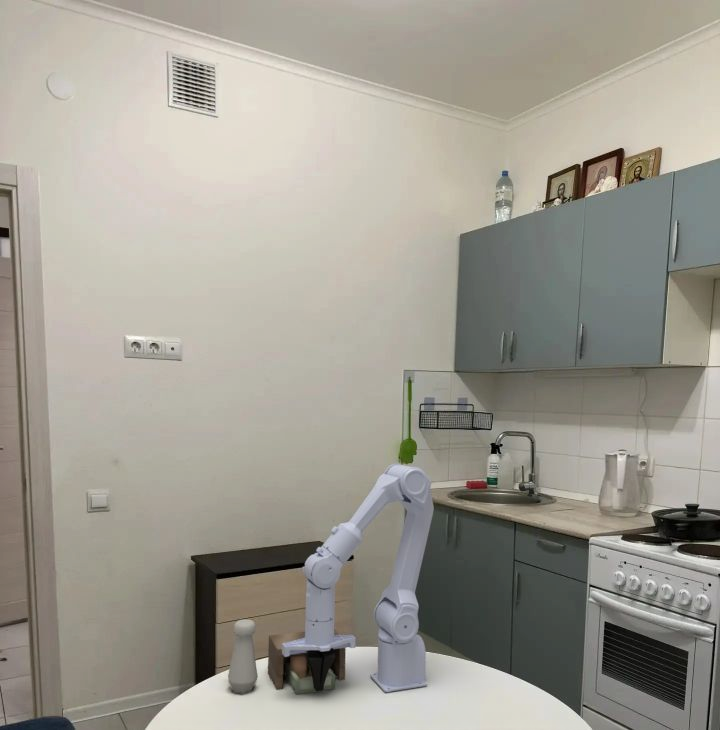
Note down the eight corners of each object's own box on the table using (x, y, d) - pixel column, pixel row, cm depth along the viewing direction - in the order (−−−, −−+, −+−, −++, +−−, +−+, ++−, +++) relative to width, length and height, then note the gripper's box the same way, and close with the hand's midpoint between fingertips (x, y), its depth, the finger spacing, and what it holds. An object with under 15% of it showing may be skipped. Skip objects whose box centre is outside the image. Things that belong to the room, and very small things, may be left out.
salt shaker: (250, 697, 116) (252, 627, 117) (222, 694, 117) (225, 625, 118) (261, 684, 121) (263, 617, 123) (234, 681, 123) (236, 615, 124)
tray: (321, 670, 128) (322, 645, 129) (334, 688, 120) (335, 661, 121) (284, 675, 126) (285, 649, 126) (296, 694, 117) (296, 666, 118)
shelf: (332, 664, 132) (333, 628, 132) (345, 679, 124) (345, 641, 125) (267, 673, 127) (268, 635, 127) (276, 689, 119) (277, 649, 120)
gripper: (289, 628, 112) (287, 704, 111) (361, 619, 118) (360, 692, 116) (280, 616, 119) (278, 687, 118) (349, 608, 124) (347, 677, 123)
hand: (318, 689), depth 118 cm, fingers closed, pressing on tray
